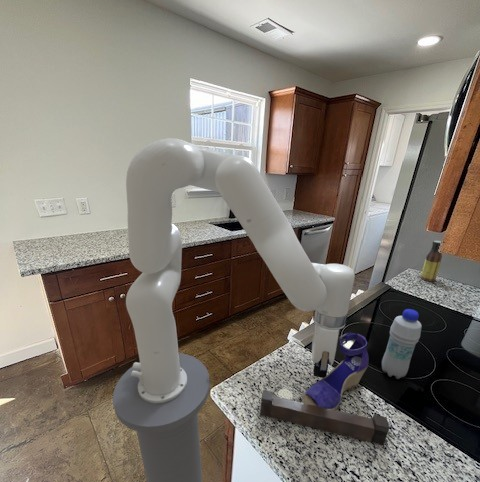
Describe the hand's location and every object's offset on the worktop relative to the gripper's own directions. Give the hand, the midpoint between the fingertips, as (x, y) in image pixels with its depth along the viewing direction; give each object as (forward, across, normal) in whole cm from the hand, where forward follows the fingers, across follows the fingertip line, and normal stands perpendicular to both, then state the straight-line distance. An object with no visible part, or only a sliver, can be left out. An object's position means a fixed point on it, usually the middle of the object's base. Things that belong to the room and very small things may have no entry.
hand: (319, 374), depth 70 cm
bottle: (+2, -9, +20) cm, 22 cm away
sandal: (+2, +4, +4) cm, 6 cm away
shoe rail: (+2, +13, 0) cm, 13 cm away
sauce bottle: (+2, -84, +53) cm, 99 cm away
